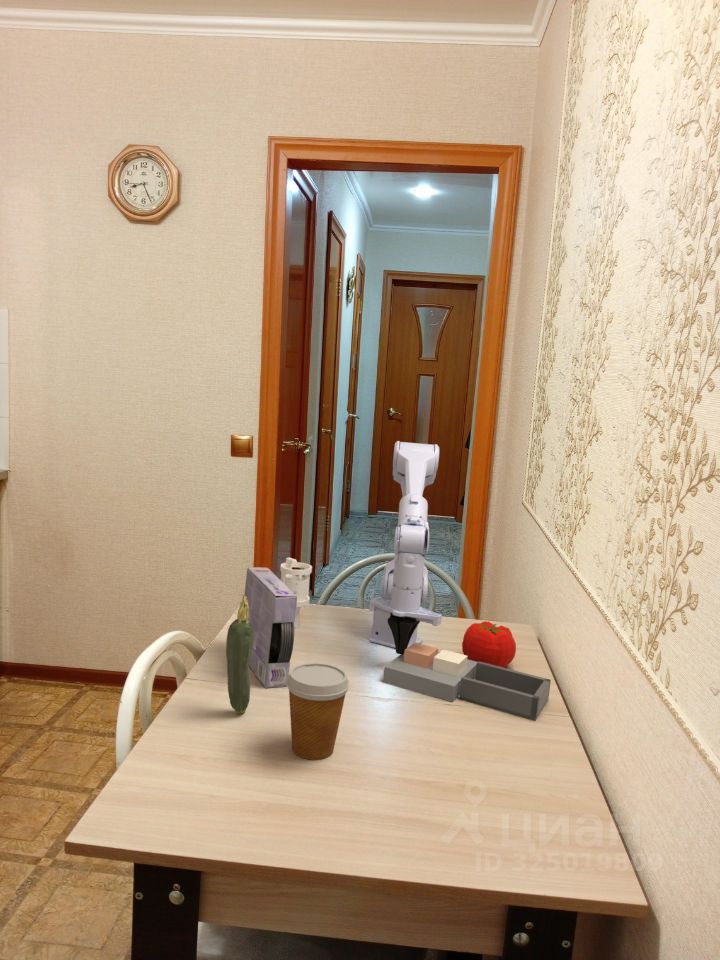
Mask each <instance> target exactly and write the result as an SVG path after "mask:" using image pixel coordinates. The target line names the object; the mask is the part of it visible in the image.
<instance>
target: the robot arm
mask: <svg viewBox="0 0 720 960" xmlns="http://www.w3.org/2000/svg"><path fill="white" fill-rule="evenodd" d="M439 459H440V446H439V445H438V444H436V443H435V444H429V443H417V442H406V441H404V442H403V441H400V440H397V441H396V442H395V443H394V449H393V458H392V476H393V479H392V480H394V481H395V482H396V483H398V484H399V485H400V488H401V492H402V497H401V499H400V501H399V507H398V516H397V517H398V518H397V519H398V520H397V526H396V527H395V531H394V532H395V533H394V543H393V549H394V550H393V551H394V558H393V559H392V560H390V561H389V562H387V563H386V564H385V565H384V567H383V574H382V582H381V583H382V584H381V594H380V595H381V597H380V599H377V598H372V600H370V601H369V611H371V612H373V615H372V625H371V626H372V627H371V628H372V629H371V637H370V638H369V642H371V643H374V644H379V645H383V646H387V647H390V648H394V649H395V654H398V655H403V654H404V652H405V649H406V648H408V647H409V646H410V645H412V644H413V643H415V642H416V643H419V644H422V643H423V641H424V640H423V638H419V637H417V635H418V626H419V624H420V623H421V622H422V623H426V624H430V625H432V626H434V627H438V626H440V625H441V624H442V616H443V614H441V613H436V612H434V611H432V610H429V609H427V608H424V607H422V606H421V605H424V604H425V603H426V602H427V601H428V592H429V591H428V589H429V577H428V576H429V570H428V568H427V567H426V565H425V562H426V561H425V559H426V556H427V555H428V552H429V548H430V547H429V546H430V528H429V527H430V526H429V522H428V511H429V510H428V509H429V506H428V505H429V503H428V500H427V499H426V498H425V497H423V495H424V490H425V488H426V487H427V486H430V485H432V484H434V481H435V479H436V475H437V471H438V467H439ZM424 550H425V552H424ZM424 554H425V555H424Z"/></svg>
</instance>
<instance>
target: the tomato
mask: <svg viewBox="0 0 720 960" xmlns="http://www.w3.org/2000/svg"><path fill="white" fill-rule="evenodd" d="M461 648H462V649H461V650H462V654H463V655H466V656H468V657H467V659H468V660H472V661H476V662H478V661H480V662H483V663H487V664H491V665H495V666H499V667H503V668H506V667H507V666H508V665H510V664H511V663H512V661H514V659H515V657H516V653H517V643H516V641H515V638H514V636H513V633H512V631H511V629H510V628H509V627H506V626H503V625H499V626H497V623H494V624H493V623H492V622H490V621H482V622H480V623H478V622H474V623H472V624H471V625H470V626H468V628H466V630H465V632H464V635H463V638H462V643H461Z"/></svg>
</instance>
